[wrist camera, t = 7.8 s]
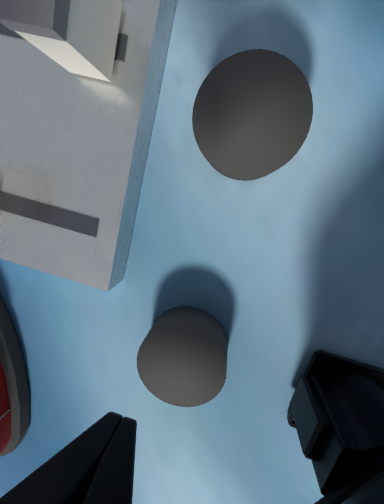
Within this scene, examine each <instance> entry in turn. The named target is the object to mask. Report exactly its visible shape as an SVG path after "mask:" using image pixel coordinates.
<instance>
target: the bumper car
mask: <svg viewBox="0 0 384 504" xmlns="http://www.w3.org/2000/svg"><path fill="white" fill-rule="evenodd" d="M29 422H30V394H29V387H28V381H27V374H26V367H25V362H24V359H23V355H22V352H21V348H20V345H19V341H18V338H17V335H16V331H15V328H14V326H13V324H12V321H11V319H10V317H9V315H8V312H7V310H6V308H5V306H4V304H3V302H2V300H1V297H0V456H4V455H6V454H8V453H10V452H12V451H14V450H15V448H16V447H17V446H18V445H19V444H20V443H21V441H22V440H23V438H24V436H25V434H26V432H27V430H28V428H29Z"/></svg>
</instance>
